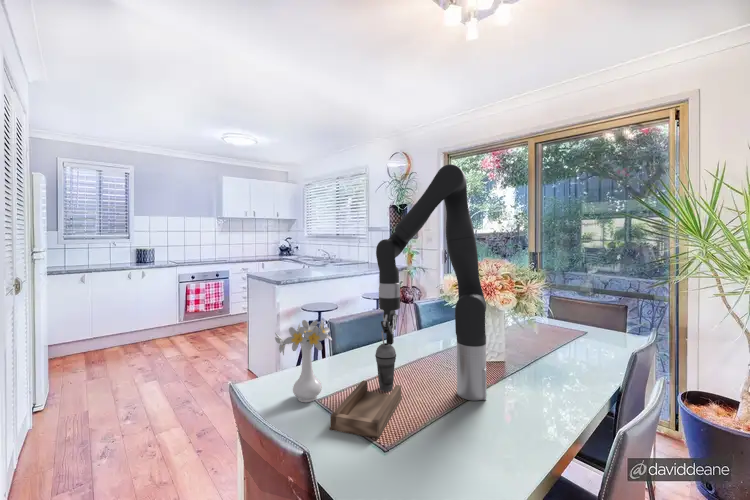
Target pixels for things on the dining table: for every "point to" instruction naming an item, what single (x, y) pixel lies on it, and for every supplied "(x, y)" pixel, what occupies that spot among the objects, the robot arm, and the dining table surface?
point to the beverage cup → (385, 365)
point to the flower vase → (306, 357)
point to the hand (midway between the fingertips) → (390, 343)
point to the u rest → (365, 411)
